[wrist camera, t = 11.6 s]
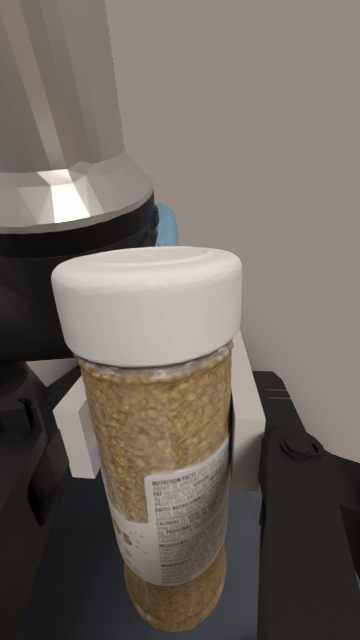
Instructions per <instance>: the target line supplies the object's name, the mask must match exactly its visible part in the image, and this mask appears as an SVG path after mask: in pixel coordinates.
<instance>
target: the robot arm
mask: <svg viewBox="0 0 360 640" xmlns="http://www.w3.org/2000/svg"><path fill="white" fill-rule="evenodd" d="M165 246H178V232H177V223H176V219H175V215H174V212H173V210H172V209H171V208H169V207H166V206H164V205H162V204H161V203H159V204H154V191H153V182H152V179H151V177H150V176H149V175H148V174H147V173H146V172H145V171H144V170H143V169H142V168H141V167H140V166H139V165H138V164H137V163H136V162H135V161H134V160H133V159H132V158H131V157H130V156H129V155H128V154H127V152H126V150H125V147H124V140H123V133H122V125H121V118H120V111H119V103H118V95H117V88H116V81H115V73H114V66H113V58H112V51H111V44H110V37H109V29H108V21H107V14H106V6H105V0H0V640H15V639H16V635H17V632H18V629H19V626H20V623H21V620H22V617H23V614H24V611H25V608H26V605H27V602H28V599H29V595H30V592H31V589H32V586H33V583H34V580H35V577H36V574H37V571H38V568H39V565H40V562H41V559H42V555H43V552H44V549H45V546H46V543H47V540H48V537H49V534H50V531H51V528H52V525H53V522H54V519H55V515H56V512H57V509H58V506H59V503H60V500H61V497H62V494H63V490H64V482H63V479H62V476H63V474H64V473H65V471H66V469H67V467H68V466H70V470H71V473H72V476H73V477H78V478H91V479H95V478H96V475H97V473H98V471H99V469H100V463H99V458H98V451H97V440H96V436H95V433H94V426H93V423H92V420H91V414H90V409H89V404H88V401H87V397H86V392H85V385H84V382H83V379H82V374H81V368H79V369H78V370H76V371H74V372H73V373H71V374H70V375H68V376H67V377H66V378H65V380H64V381H63V382H62V383H61V385H59V386H58V387H57V388H56V389H55V392H53V393H51V392H50V391H49V390H48V388H47V387H46V386H45V385H44V384H43V383H42V381H41V380H40V379H39V378H38V377H37V376H36V374H34V372H33V371H32V370H31V369H30V368H29V366H28V365H27V363H26V361H39V360H52V359H65V358H75V357H74V354H73V352H72V351H71V350H70V348H69V347H68V346H67V344H66V342H65V339H64V335H63V331H62V327H61V323H60V319H59V315H58V311H57V307H56V302H55V297H54V293H53V288H52V282H51V275H52V272H53V270H54V269H55V268H56V267H57V266H58V265H59V264H61V263H63V262H65V261H68V260H70V259H73V258H77V257H81V256H86V255H91V254H96V253H101V252H107V251H113V250H121V249H130V248H144V247H165ZM232 342H233V343H234V347H233V349H232V357H231V359H232V366H231V398H230V412H231V448H230V471H231V482H232V489H237V490H251V491H258V487H259V482H260V487H261V492H262V503H261V511H260V520H259V525H260V558H259V592H258V626H257V640H360V590H359V586H358V581H357V577H356V573H357V575H358V577H359V580H360V463H357V462H354V461H351V460H348V459H344V458H341V457H339V456H336V455H333V454H331V453H329V452H327V451H326V450H324V448H323V446H322V445H321V444H320V443H319V441H318V440H317V439H316V438H315V437H313V436H311V435H310V434H308V433H307V432H306V430H305V428H304V426H303V424H302V422H301V420H300V418H299V415H298V413H297V411H296V409H295V407H294V405H293V402H292V400H291V399H290V396H289V394H288V392H287V391H286V388H285V385H284V383H283V381H282V379H281V378H280V377H278V376H277V375H276V374H275V373H274V372H271V371H270V372H269V371H252V370H251V367H250V363H249V360H248V356H247V353H246V349H245V346H244V343H243V340H242V336H241V332H240V329H239V330H238V332H237V333H236V335H235V336H234V337H233V340H232ZM354 568H355V569H354ZM355 570H356V573H355Z"/></svg>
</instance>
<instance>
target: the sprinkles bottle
mask: <svg viewBox="0 0 360 640" xmlns="http://www.w3.org/2000/svg"><path fill="white" fill-rule="evenodd" d="M51 282H52V288H53V293H54V297H55V302H56V307H57V311H58V315H59V319H60V323H61V327H62V331H63V335H64V339H65V342H66V344H67V346H68V347H69V348H70V350H71V351H72V352H73V354H74V357H75V358H76V359H77V361H78V363H79V365H80V367H81V374H82V379H83V382H84V385H85V392H86V397H87V401H88V404H89V409H90V414H91V420H92V423H93V426H94V433H95V436H96V440H97V451H98V458H99V463H100V468H101V473H102V478H103V482H104V486H105V491H106V495H107V499H108V503H109V508H110V513H111V517H112V521H113V526H114V530H115V535H116V539H117V543H118V546H119V550H120V552H121V554H122V557H123V559H124V576H125V583H126V588H127V591H128V594H129V597H130V599H131V601H132V603H133V605H134V607H135V609H136V611H137V612H138V613H139V615H140V617H141V618H143V619H144V620H145V621H146V622H148V623H149V624H150V625H151V626H153V627H154V628H156V629H162V630H164V631H167V632H180V631H187V630H192V629H193V628H194V627H195V626H196V625H198V624H199V623H200V622H201V621H203V620H204V619H205V618H206V617H207V616H208V615H209V614H210V612H211V611H212V610H213V609H214V608H215V606H216V604H217V602H218V600H219V598H220V595H221V593H222V591H223V586H224V580H225V574H226V551H225V546H224V538H225V534H226V529H227V515H228V494H229V473H230V448H231V412H230V398H231V366H232V359H231V357H232V349H233V347H234V343H233V342H232V340H233V337H234V336H235V335H236V333H237V332H238V330H239V326H240V320H241V298H242V297H241V296H242V264H241V261H240V259H239V258H238V257H237V256H236V255H235V254H233V253H231V252H228V251H224V250H219V249H211V248H198V247H186V246H181V247H180V246H165V247H144V248H130V249H121V250H113V251H107V252H101V253H96V254H91V255H86V256H81V257H77V258H73V259H70V260H68V261H65V262H63V263H61V264H59V265H58V266H57V267H56V268H55V269H54V270H53V272H52V275H51Z"/></svg>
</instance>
